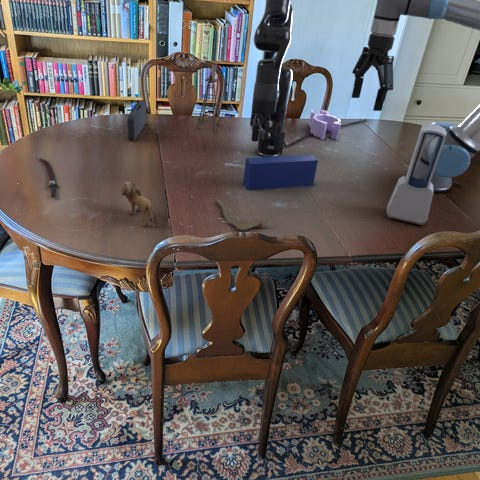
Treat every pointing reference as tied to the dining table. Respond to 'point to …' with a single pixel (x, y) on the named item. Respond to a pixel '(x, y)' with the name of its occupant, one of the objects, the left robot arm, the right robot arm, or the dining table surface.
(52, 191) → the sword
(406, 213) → the electronic device
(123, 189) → the lion figurine
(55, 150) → the dining table surface
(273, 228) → the dining table surface
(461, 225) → the dining table surface
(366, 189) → the dining table surface
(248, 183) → the bar
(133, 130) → the handheld gaming console
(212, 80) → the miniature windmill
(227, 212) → the jawbone
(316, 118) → the clip
